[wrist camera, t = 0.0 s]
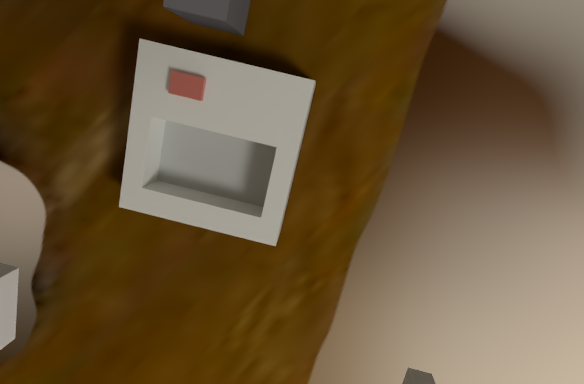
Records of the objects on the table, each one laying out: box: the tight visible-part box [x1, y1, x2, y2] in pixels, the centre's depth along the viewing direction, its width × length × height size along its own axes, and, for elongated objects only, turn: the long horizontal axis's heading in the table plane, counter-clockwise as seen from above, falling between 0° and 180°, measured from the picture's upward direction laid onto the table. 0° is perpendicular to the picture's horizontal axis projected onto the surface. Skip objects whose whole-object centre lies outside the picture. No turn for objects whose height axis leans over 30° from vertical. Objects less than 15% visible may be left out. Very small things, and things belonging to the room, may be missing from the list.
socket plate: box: [119, 39, 316, 246], centre depth 37 cm, size 16×16×5 cm
